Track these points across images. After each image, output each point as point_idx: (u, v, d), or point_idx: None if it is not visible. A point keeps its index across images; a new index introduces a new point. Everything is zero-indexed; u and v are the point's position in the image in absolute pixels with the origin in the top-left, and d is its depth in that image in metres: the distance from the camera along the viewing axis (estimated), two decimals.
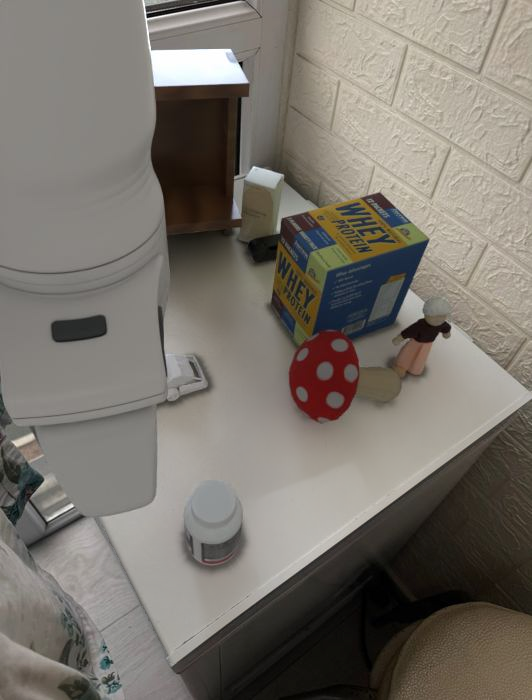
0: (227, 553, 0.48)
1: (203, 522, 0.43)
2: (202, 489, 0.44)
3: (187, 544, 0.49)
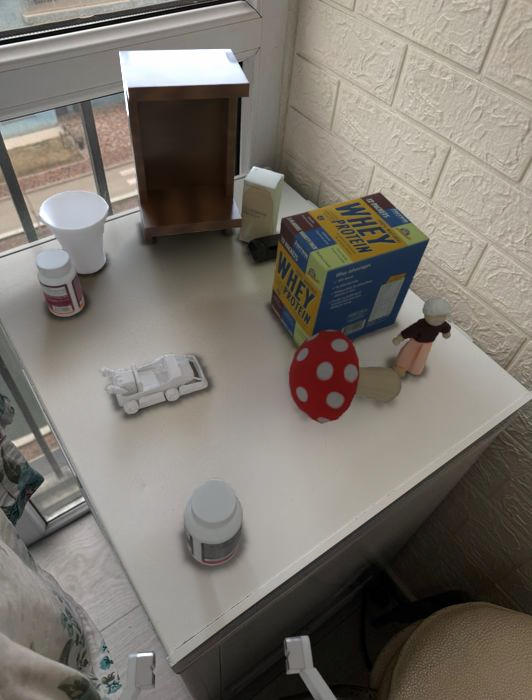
0: (227, 553, 0.48)
1: (203, 522, 0.43)
2: (202, 489, 0.44)
3: (187, 544, 0.49)
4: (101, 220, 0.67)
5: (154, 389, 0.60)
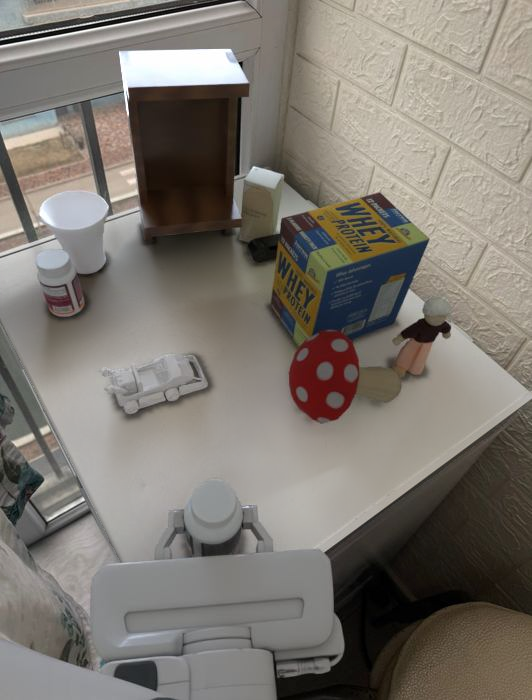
0: (227, 553, 0.48)
1: (203, 522, 0.43)
2: (202, 489, 0.44)
3: (187, 544, 0.49)
4: (101, 220, 0.67)
5: (154, 389, 0.60)
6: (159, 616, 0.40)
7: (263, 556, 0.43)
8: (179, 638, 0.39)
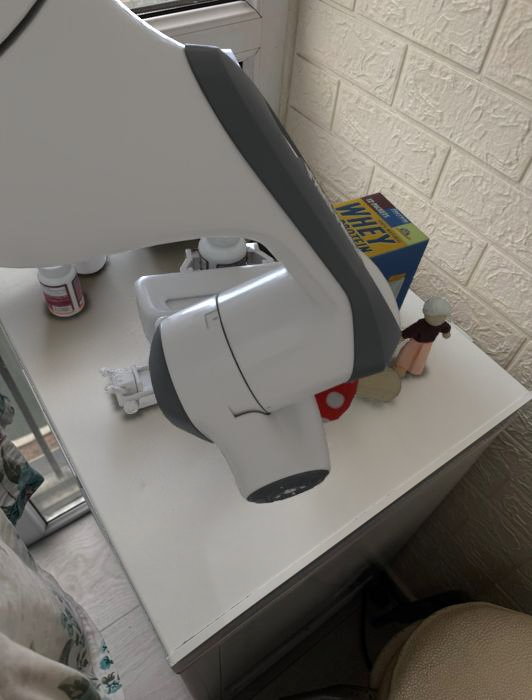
0: None
1: (217, 238, 0.53)
2: None
3: None
4: None
5: None
6: (193, 301, 0.50)
7: (268, 264, 0.54)
8: None
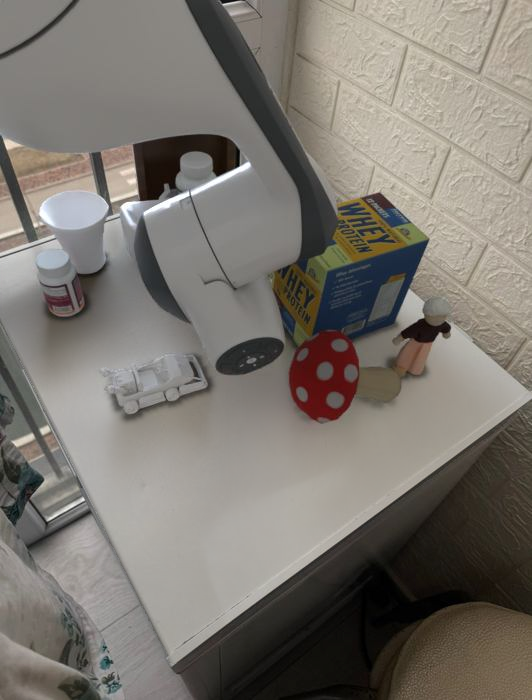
0: None
1: (191, 170, 0.61)
2: (187, 155, 0.63)
3: None
4: (101, 220, 0.67)
5: (154, 389, 0.60)
6: None
7: None
8: None
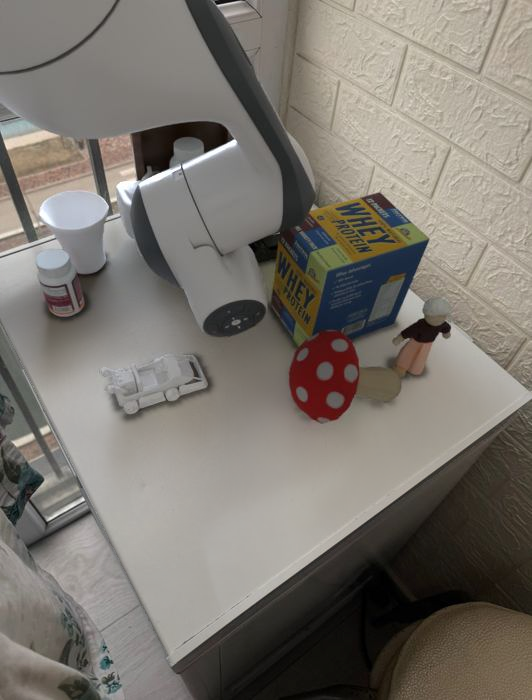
0: None
1: (184, 154, 0.66)
2: (180, 140, 0.67)
3: None
4: (101, 220, 0.67)
5: (154, 389, 0.60)
6: None
7: None
8: None
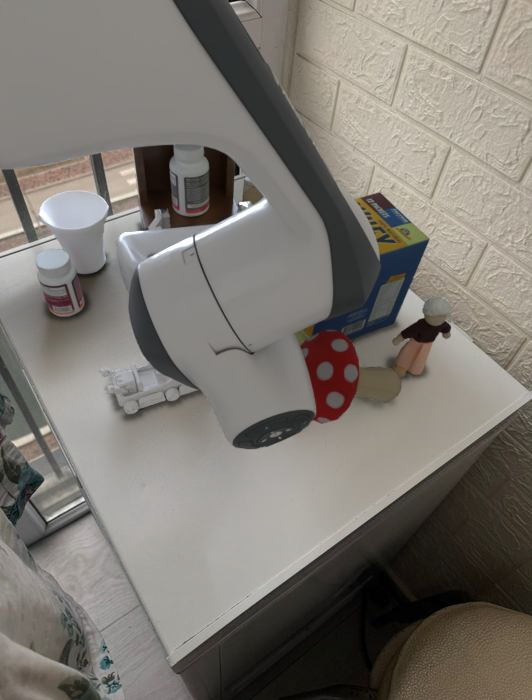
0: (202, 199, 0.71)
1: (184, 154, 0.66)
2: None
3: (174, 202, 0.72)
4: (101, 220, 0.67)
5: (154, 389, 0.60)
6: None
7: None
8: None
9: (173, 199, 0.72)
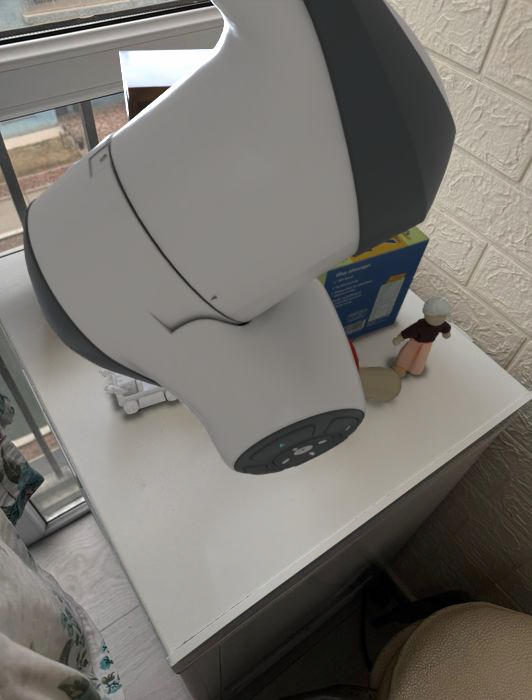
0: None
1: None
2: None
3: None
4: None
5: (154, 389, 0.60)
6: None
7: None
8: None
9: None
